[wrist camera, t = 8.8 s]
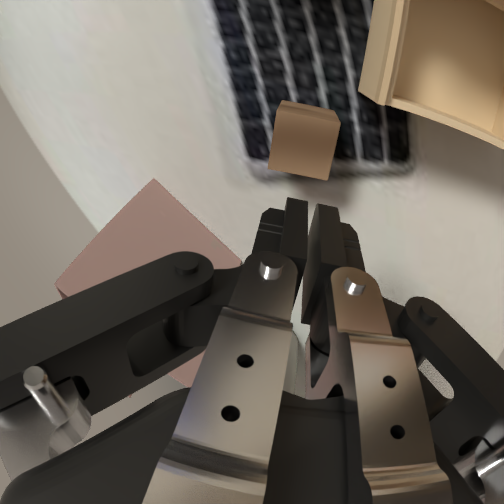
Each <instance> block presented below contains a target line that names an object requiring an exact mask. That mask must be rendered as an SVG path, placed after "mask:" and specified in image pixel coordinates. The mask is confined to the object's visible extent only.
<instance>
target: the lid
mask: <svg viewBox="0 0 504 504" xmlns="http://www.w3.org/2000/svg"><path fill="white" fill-rule="evenodd" d="M485 1H486V2H488V3H490V4H492V5H494V6H495V7H497V8H499V9H500V10H502V11H504V0H485Z"/></svg>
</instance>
